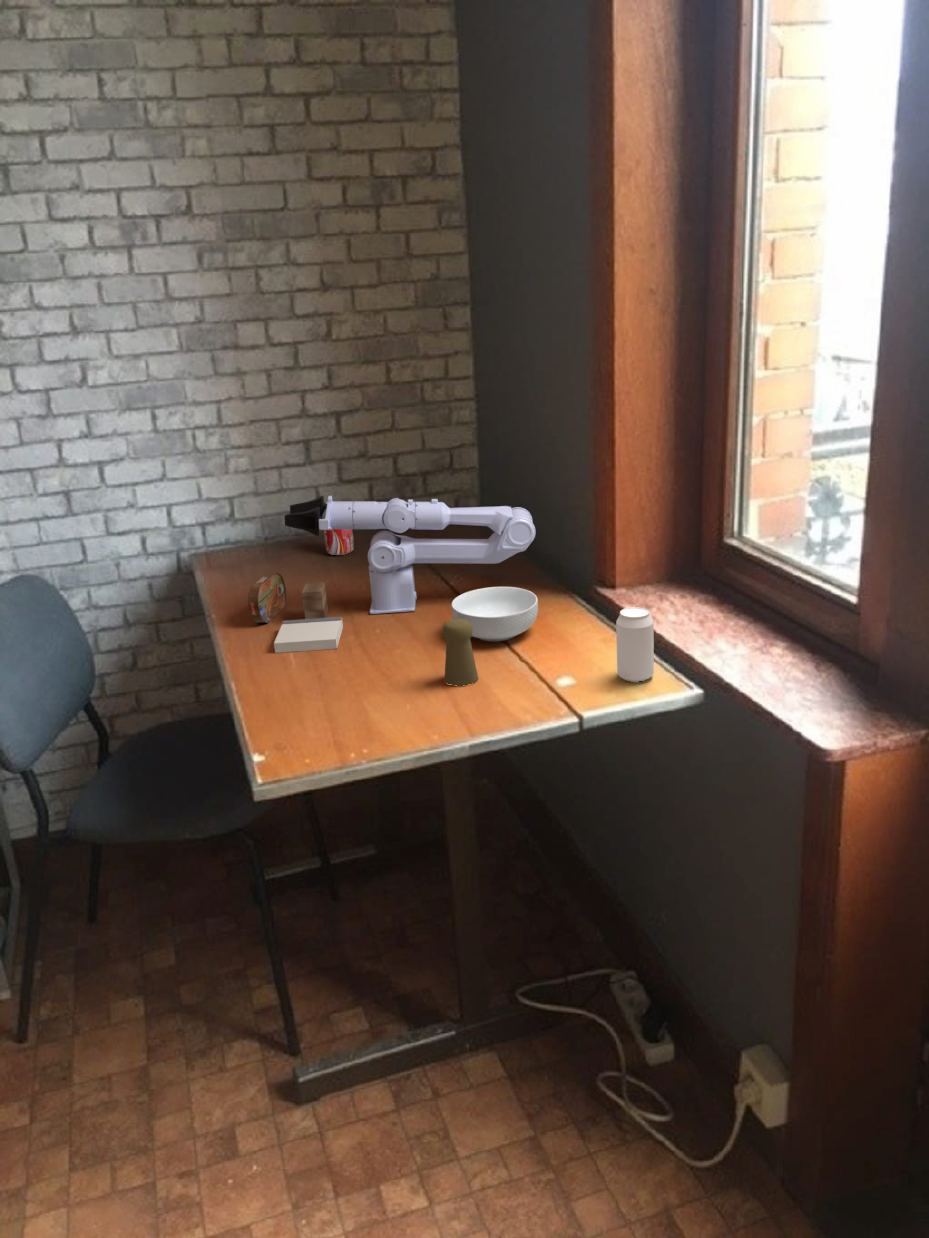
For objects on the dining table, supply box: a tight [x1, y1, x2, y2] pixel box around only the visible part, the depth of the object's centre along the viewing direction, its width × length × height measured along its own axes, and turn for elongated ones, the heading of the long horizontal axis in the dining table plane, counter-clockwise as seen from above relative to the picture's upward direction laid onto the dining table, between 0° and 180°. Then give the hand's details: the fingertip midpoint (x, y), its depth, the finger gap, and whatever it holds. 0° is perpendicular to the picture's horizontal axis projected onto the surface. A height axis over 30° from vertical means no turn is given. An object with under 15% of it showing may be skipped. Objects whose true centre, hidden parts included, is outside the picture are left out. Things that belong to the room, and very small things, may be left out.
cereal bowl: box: [451, 586, 539, 642], centre depth 203 cm, size 17×17×7 cm
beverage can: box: [615, 606, 655, 683], centre depth 178 cm, size 6×6×12 cm
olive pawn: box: [442, 618, 479, 687], centre depth 183 cm, size 6×6×11 cm
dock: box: [273, 616, 344, 654], centre depth 208 cm, size 12×12×2 cm
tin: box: [247, 572, 287, 624], centre depth 222 cm, size 15×3×8 cm, turn 168°
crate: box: [301, 581, 329, 619], centre depth 219 cm, size 4×6×7 cm
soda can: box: [323, 529, 354, 556], centre depth 263 cm, size 7×7×12 cm
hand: (287, 515), depth 216 cm, fingers open, 7 cm apart
